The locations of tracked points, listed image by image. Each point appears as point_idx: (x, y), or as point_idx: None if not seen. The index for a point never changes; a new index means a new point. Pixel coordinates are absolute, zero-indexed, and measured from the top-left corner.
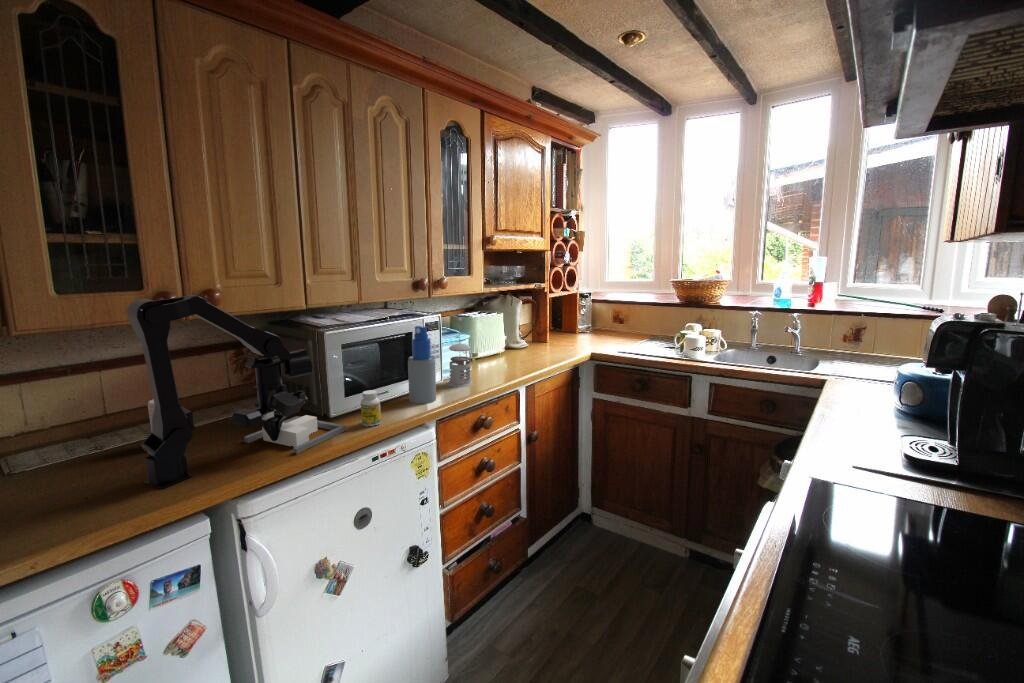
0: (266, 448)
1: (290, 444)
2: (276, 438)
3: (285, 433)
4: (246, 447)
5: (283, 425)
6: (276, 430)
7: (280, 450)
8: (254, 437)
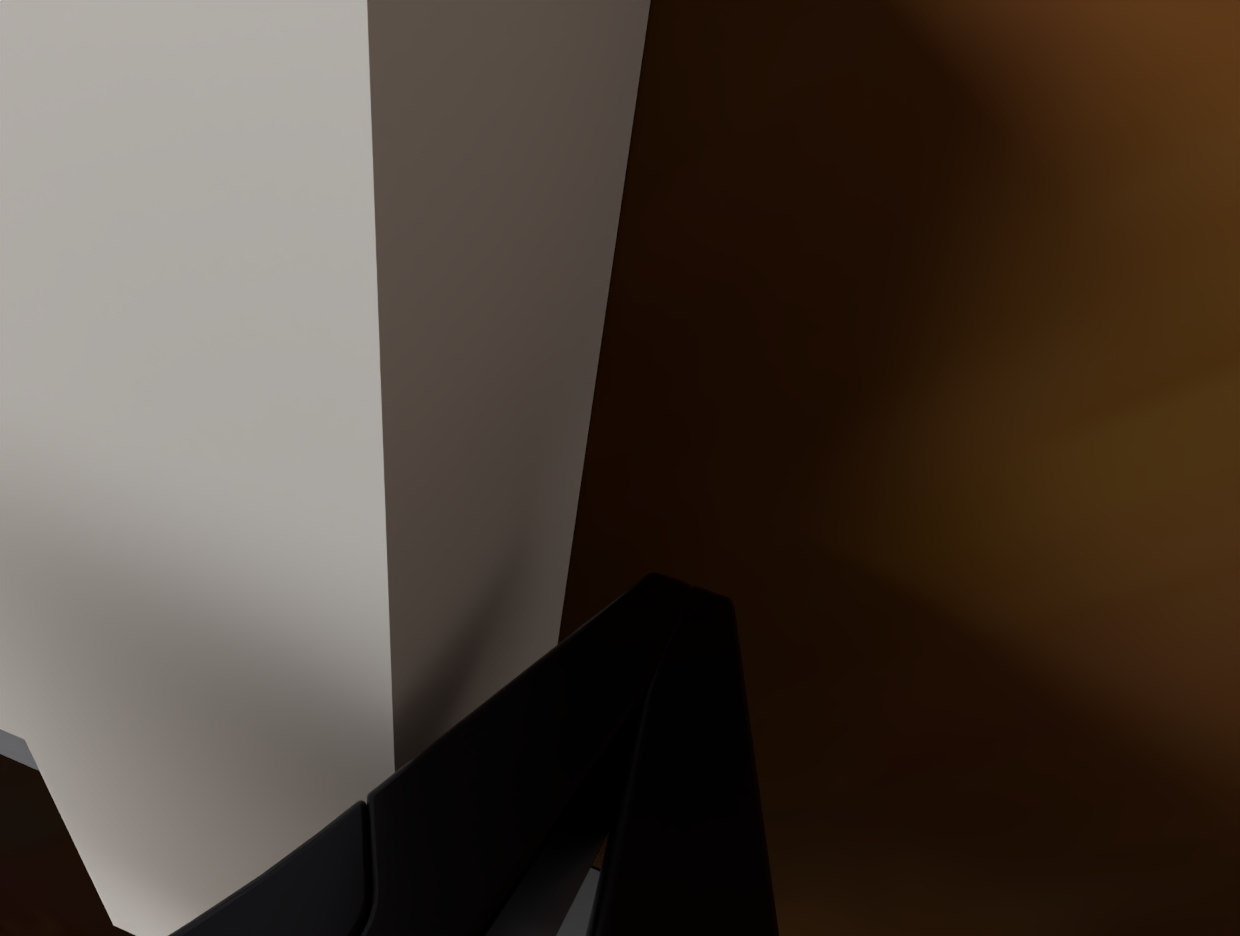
0: (875, 626)
1: (610, 144)
2: (665, 616)
3: (443, 493)
4: (877, 905)
5: (135, 745)
6: (558, 832)
7: (968, 254)
8: (571, 914)
